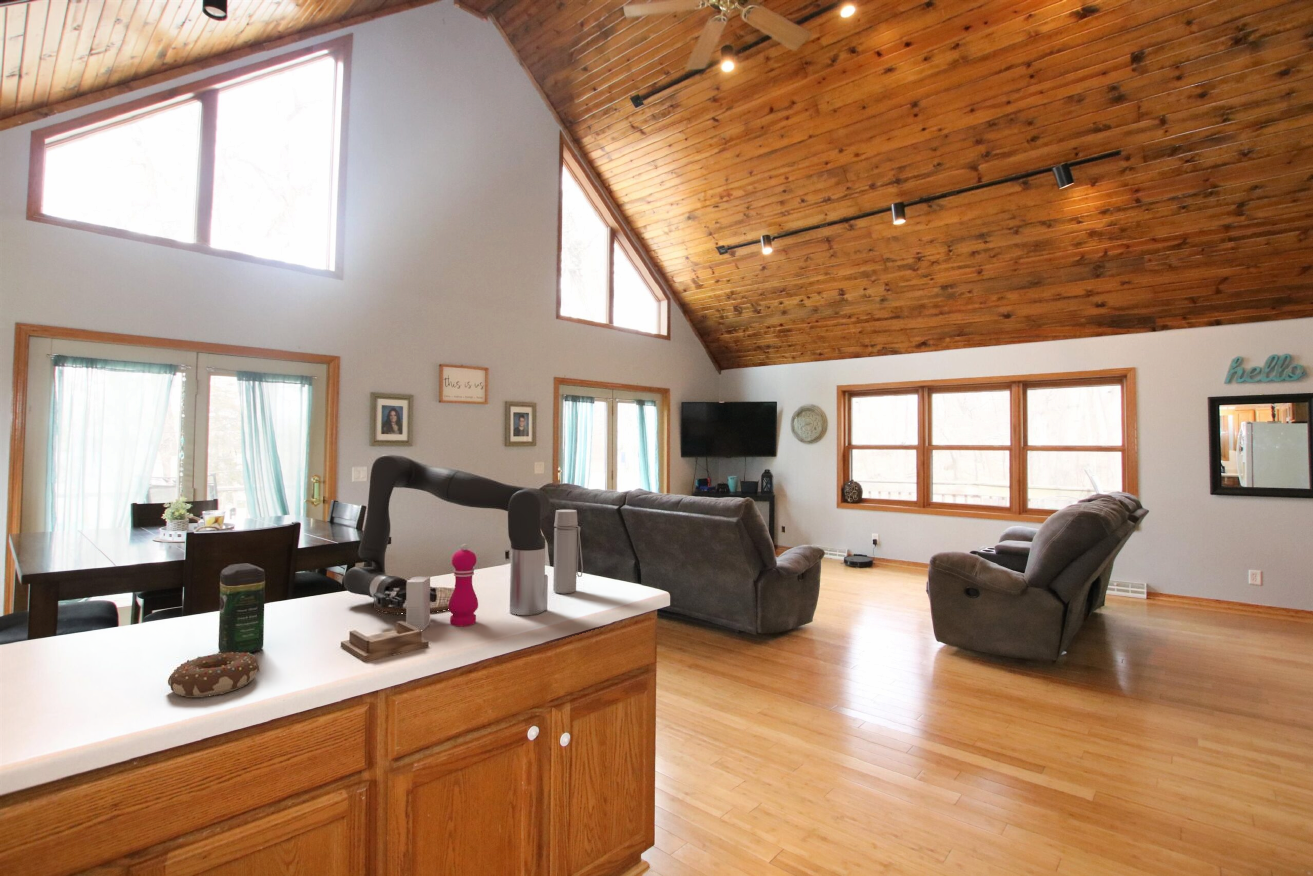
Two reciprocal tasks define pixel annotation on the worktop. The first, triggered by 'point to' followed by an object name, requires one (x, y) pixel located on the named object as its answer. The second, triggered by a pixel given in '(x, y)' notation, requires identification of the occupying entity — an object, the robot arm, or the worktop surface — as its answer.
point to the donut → (213, 674)
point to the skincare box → (418, 602)
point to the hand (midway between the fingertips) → (418, 601)
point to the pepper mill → (463, 589)
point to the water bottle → (566, 551)
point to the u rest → (385, 642)
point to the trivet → (439, 605)
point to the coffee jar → (241, 608)
